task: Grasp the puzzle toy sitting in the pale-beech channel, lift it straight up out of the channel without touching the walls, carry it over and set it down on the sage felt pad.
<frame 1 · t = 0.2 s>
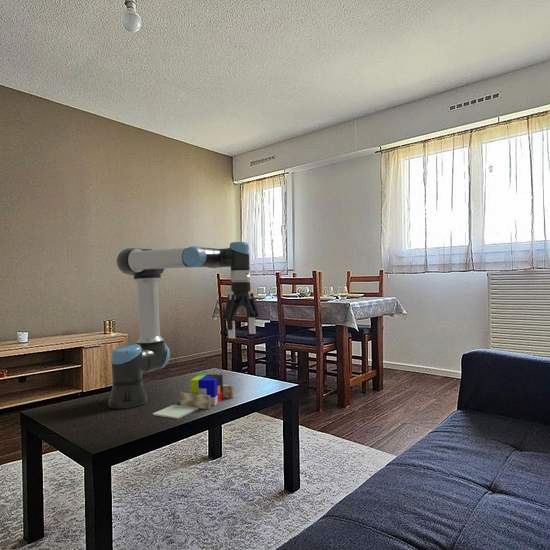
hand: (242, 336, 162), 27 cm above the table, fingers open, 13 cm apart
puzzle toy: (207, 402, 170), on the table
pad: (175, 412, 157), on the table
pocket: (207, 401, 170), on the table
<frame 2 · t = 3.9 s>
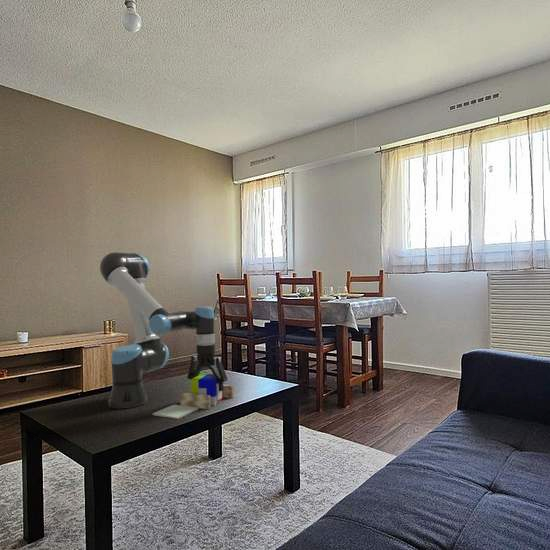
hand: (207, 397, 170), 2 cm above the table, fingers closed on puzzle toy, 11 cm apart
puzzle toy: (207, 401, 170), on the table, touching gripper
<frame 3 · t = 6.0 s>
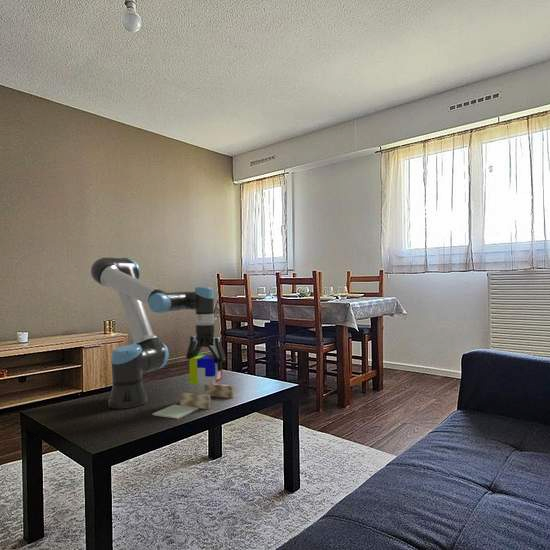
hand: (206, 377, 171), 10 cm above the table, fingers closed on puzzle toy, 11 cm apart
puzzle toy: (206, 382, 171), point 8 cm above the table, touching gripper
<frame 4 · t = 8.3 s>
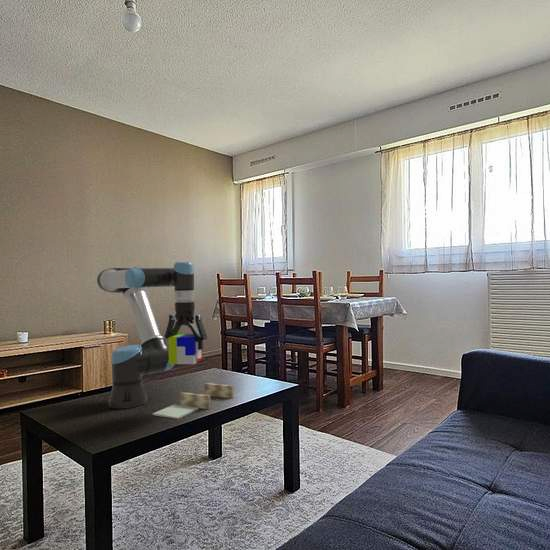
hand: (186, 357, 163), 20 cm above the table, fingers closed on puzzle toy, 11 cm apart
puzzle toy: (186, 361, 163), point 18 cm above the table, touching gripper
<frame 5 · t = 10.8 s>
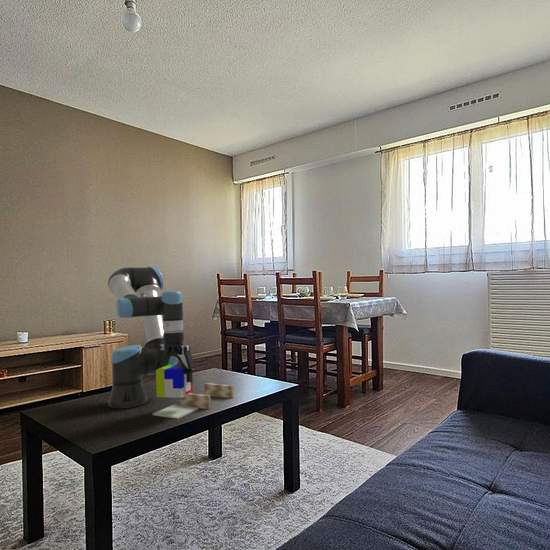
hand: (175, 389, 157), 9 cm above the table, fingers closed on puzzle toy, 11 cm apart
puzzle toy: (175, 394, 157), point 7 cm above the table, touching gripper
when the fingers open (4 cm above the table, at t = 12.9 s): puzzle toy drops 1 cm, resting on pad.
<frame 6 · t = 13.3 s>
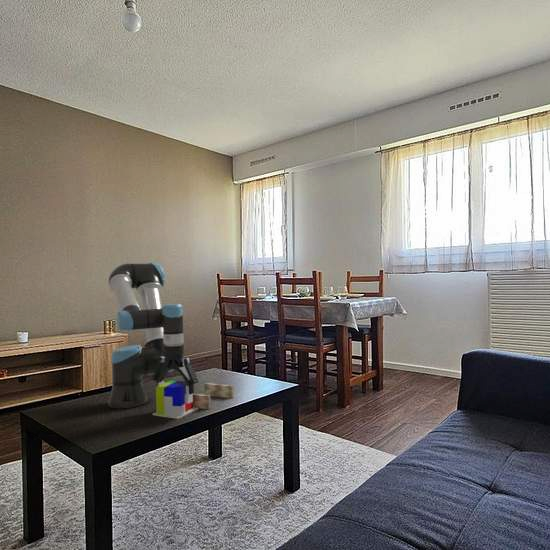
hand: (175, 400, 158), 4 cm above the table, fingers open, 13 cm apart
puzzle toy: (175, 411, 157), resting on pad
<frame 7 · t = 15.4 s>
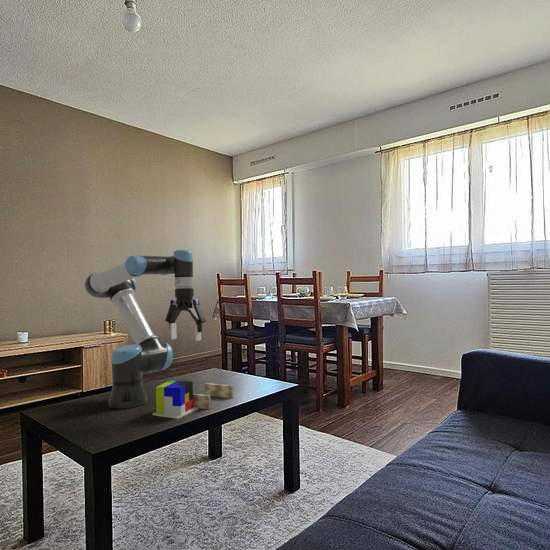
hand: (185, 339, 170), 26 cm above the table, fingers open, 13 cm apart
nothing on the table moved.
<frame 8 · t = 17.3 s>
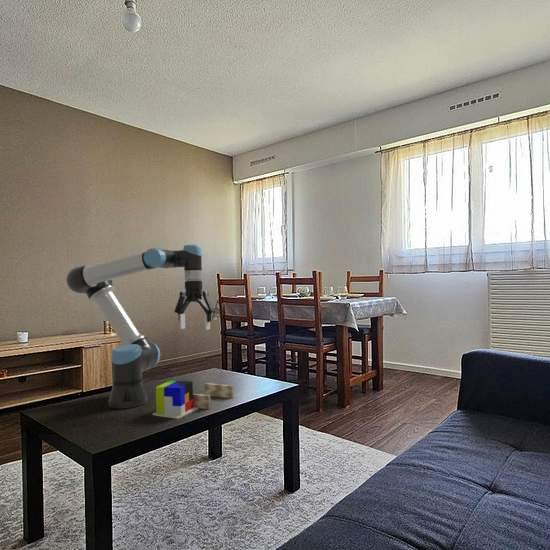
hand: (195, 329, 181), 29 cm above the table, fingers open, 13 cm apart
nothing on the table moved.
at the end: puzzle toy inside the target area on the pad (0.1 cm from its centre), point 0.4 cm above the pad's base; puzzle toy tilted 0°; the gripper is holding nothing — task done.
